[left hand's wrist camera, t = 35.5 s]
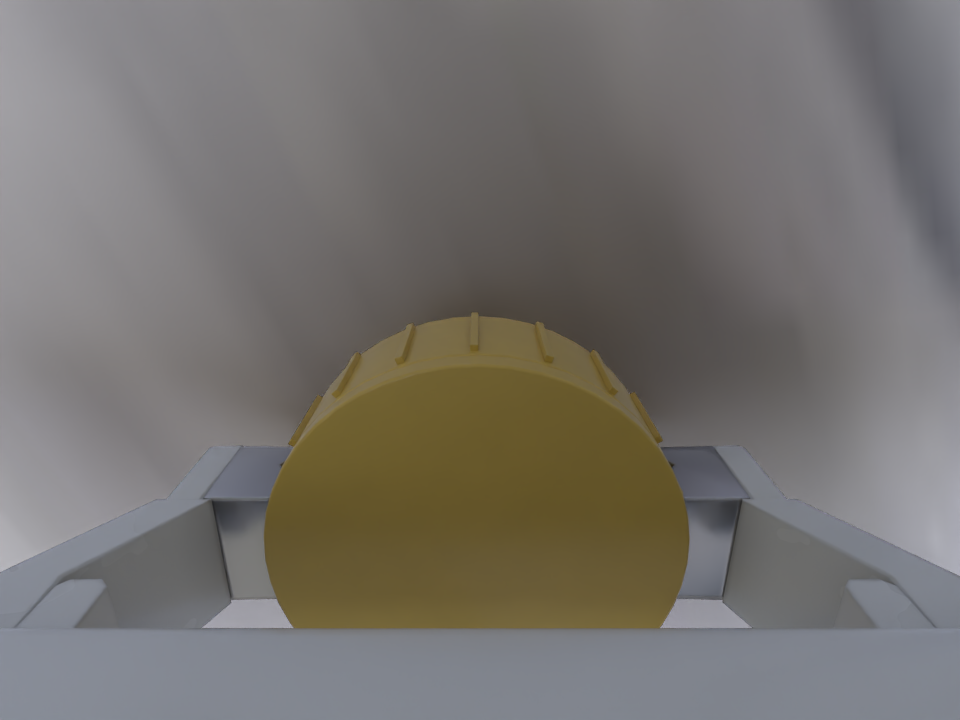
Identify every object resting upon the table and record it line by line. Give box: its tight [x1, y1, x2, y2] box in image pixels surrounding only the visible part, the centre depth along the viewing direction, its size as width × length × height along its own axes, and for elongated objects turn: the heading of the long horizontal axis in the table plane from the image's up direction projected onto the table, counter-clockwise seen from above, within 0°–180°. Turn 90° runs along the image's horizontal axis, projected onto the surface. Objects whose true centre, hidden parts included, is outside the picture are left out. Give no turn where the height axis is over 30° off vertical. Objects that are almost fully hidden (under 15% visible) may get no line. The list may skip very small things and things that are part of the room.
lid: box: [264, 313, 690, 628], centre depth 9 cm, size 6×6×2 cm
